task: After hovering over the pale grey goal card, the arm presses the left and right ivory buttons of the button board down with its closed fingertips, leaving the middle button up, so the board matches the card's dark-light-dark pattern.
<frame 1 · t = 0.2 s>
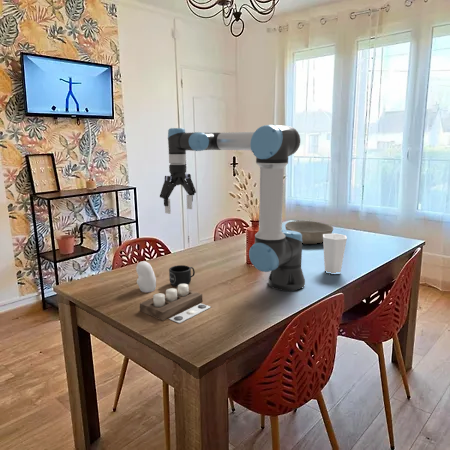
hand: (179, 211, 178), 28 cm above the table, fingers open, 13 cm apart
button right: (183, 290, 147), point 4 cm above the table, slide at 0.0 cm
button middle: (171, 295, 143), point 4 cm above the table, slide at 0.0 cm
bowl: (308, 241, 232), on the table
button left: (159, 300, 138), point 4 cm above the table, slide at 0.0 cm
goal card: (190, 313, 138), on the table
cup: (332, 272, 179), on the table
mug: (183, 284, 166), on the table
figurine: (146, 290, 160), on the table
board: (172, 306, 144), on the table
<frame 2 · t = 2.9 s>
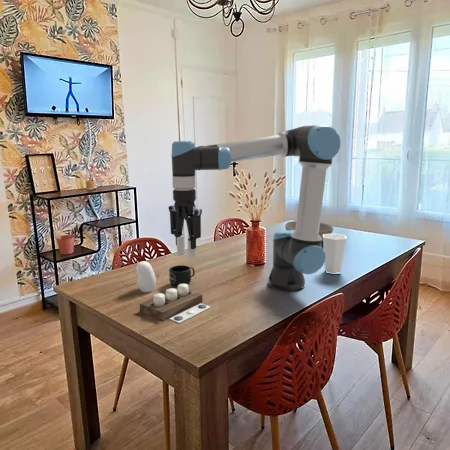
hand: (186, 256, 134), 21 cm above the table, fingers open, 4 cm apart
nothing on the table moved.
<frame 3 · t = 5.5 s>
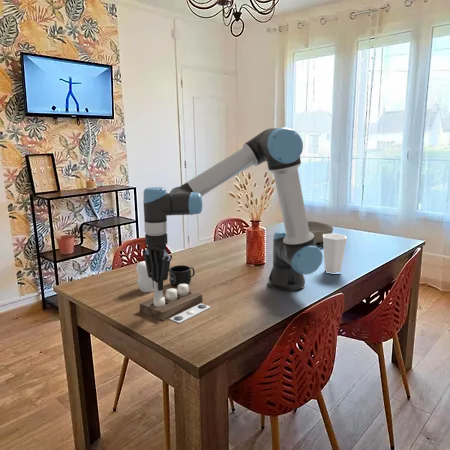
hand: (158, 298, 138), 5 cm above the table, fingers closed
button left: (159, 303, 139), point 3 cm above the table, slide at 1.2 cm, touching gripper
everything else where it was.
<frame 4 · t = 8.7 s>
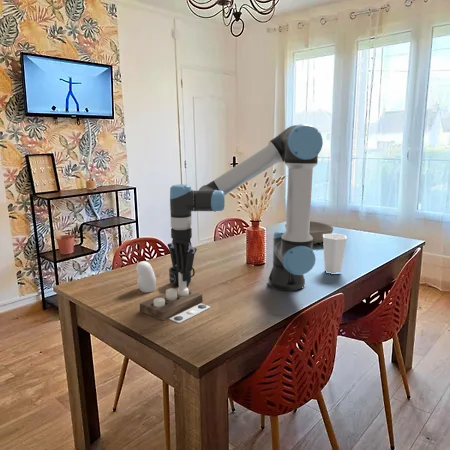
hand: (182, 288, 147), 5 cm above the table, fingers closed
button right: (183, 294, 148), point 3 cm above the table, slide at 1.4 cm, touching gripper
button left: (159, 305, 139), point 3 cm above the table, slide at 1.7 cm
everything else where it was.
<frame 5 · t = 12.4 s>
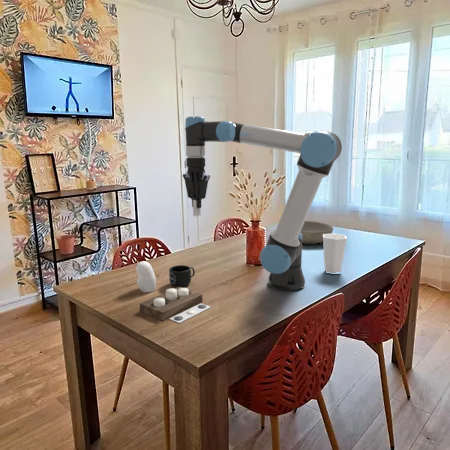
hand: (196, 215, 160), 29 cm above the table, fingers closed
button right: (183, 294, 148), point 3 cm above the table, slide at 1.7 cm
everything else where it was.
at the end: button left slide at 1.7 cm; button right slide at 1.7 cm; button middle slide at 0.0 cm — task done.
